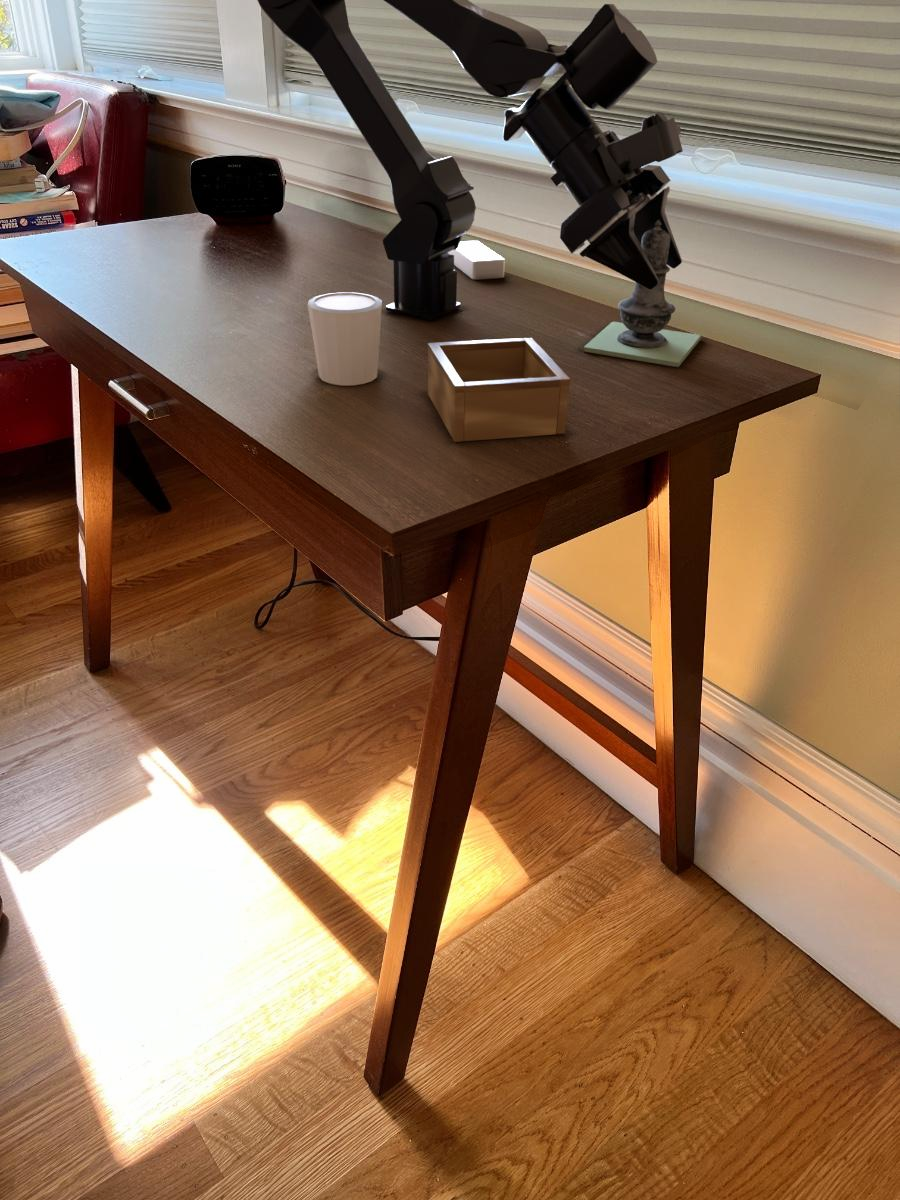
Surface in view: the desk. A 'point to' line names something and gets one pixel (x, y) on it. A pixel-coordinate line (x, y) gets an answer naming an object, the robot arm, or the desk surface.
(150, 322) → the desk surface
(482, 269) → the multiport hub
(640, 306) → the salt shaker
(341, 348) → the white tapered cup
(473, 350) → the open wooden box
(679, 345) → the mat
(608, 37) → the robot arm
